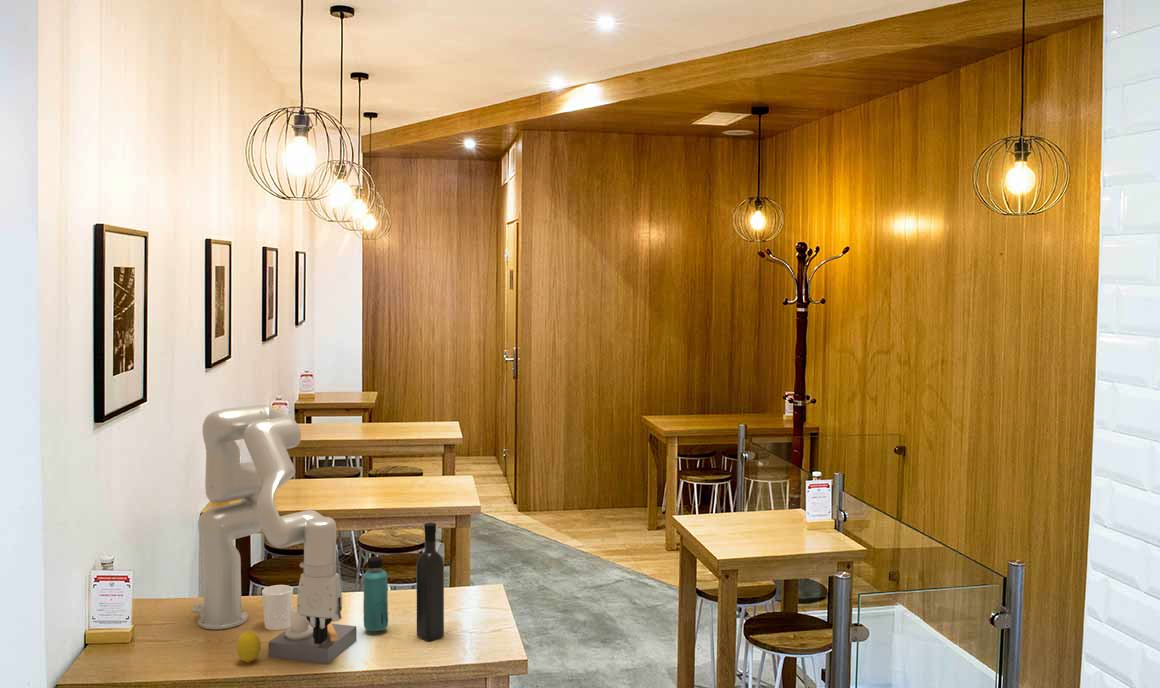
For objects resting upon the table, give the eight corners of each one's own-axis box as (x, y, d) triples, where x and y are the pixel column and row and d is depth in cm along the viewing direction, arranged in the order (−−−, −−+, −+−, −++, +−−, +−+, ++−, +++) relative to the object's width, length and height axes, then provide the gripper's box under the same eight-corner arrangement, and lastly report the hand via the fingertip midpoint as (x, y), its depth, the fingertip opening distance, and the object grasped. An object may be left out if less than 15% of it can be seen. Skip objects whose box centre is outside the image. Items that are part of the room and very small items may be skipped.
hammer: (339, 646, 229) (339, 631, 228) (329, 648, 228) (329, 633, 227) (328, 624, 243) (328, 610, 243) (319, 625, 242) (319, 611, 242)
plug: (280, 653, 234) (279, 613, 233) (294, 643, 240) (294, 604, 239) (305, 656, 232) (304, 616, 231) (318, 645, 239) (318, 606, 238)
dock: (268, 657, 232) (268, 642, 231) (300, 634, 246) (300, 620, 246) (327, 664, 228) (327, 648, 228) (356, 641, 242) (356, 626, 242)
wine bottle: (414, 636, 246) (414, 523, 244) (432, 630, 250) (432, 519, 248) (428, 642, 242) (428, 528, 240) (445, 636, 246) (445, 524, 244)
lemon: (240, 658, 231) (239, 626, 230) (263, 658, 231) (262, 626, 231) (234, 668, 225) (233, 635, 225) (257, 667, 226) (257, 635, 225)
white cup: (299, 623, 254) (299, 587, 253) (278, 633, 247) (278, 596, 246) (277, 618, 257) (276, 583, 256) (256, 628, 250) (255, 592, 249)
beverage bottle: (382, 637, 245) (382, 562, 243) (358, 635, 246) (358, 560, 245) (392, 628, 251) (392, 555, 250) (369, 626, 253) (368, 553, 251)
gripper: (284, 570, 226) (284, 644, 228) (341, 576, 223) (340, 651, 224) (300, 561, 234) (300, 632, 235) (355, 567, 230) (355, 639, 232)
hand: (320, 641), depth 230 cm, fingers closed
